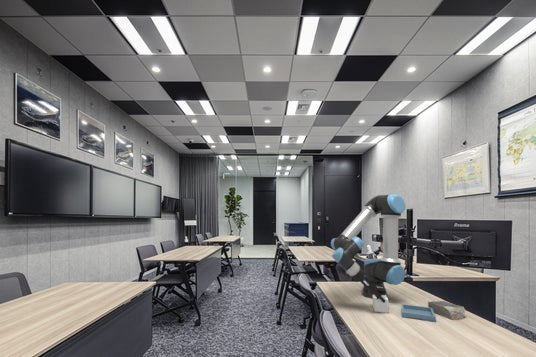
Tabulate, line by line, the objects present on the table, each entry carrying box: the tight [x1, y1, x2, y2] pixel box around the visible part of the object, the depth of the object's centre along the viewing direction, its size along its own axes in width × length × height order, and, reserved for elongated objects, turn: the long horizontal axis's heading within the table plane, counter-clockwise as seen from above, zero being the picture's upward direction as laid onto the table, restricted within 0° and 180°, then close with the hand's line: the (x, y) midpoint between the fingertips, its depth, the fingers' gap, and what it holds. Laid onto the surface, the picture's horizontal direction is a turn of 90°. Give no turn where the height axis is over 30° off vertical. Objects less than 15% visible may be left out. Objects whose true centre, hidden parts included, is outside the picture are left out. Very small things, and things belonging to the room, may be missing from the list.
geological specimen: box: [427, 300, 466, 321], centre depth 151 cm, size 11×6×15 cm
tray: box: [400, 303, 437, 323], centre depth 149 cm, size 15×15×2 cm
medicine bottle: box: [372, 287, 390, 314], centre depth 156 cm, size 7×7×12 cm
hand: (387, 303), depth 155 cm, fingers closed on medicine bottle, 7 cm apart
